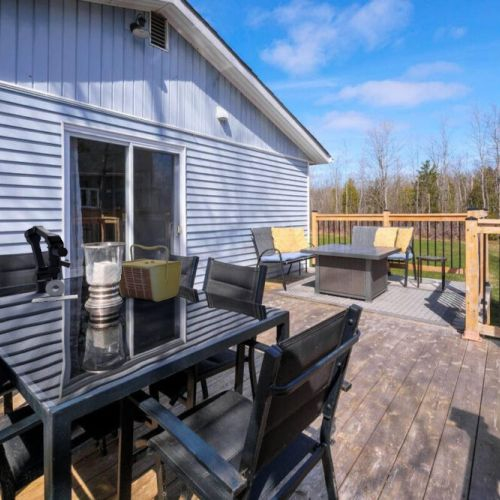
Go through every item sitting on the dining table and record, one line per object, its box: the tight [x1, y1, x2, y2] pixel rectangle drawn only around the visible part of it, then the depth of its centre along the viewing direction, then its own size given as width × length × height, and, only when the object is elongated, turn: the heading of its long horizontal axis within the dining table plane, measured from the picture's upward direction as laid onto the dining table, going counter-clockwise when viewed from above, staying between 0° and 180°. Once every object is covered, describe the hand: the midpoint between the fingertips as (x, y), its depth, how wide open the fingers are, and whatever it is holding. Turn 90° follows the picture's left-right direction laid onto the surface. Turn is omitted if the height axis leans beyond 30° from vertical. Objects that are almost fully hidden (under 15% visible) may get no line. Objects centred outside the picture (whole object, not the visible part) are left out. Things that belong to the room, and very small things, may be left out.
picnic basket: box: [118, 243, 183, 303], centre depth 193 cm, size 29×26×30 cm
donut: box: [45, 279, 66, 297], centre depth 195 cm, size 10×3×10 cm, turn 119°
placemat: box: [31, 294, 79, 304], centre depth 189 cm, size 8×22×1 cm, turn 118°
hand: (55, 282), depth 198 cm, fingers closed
